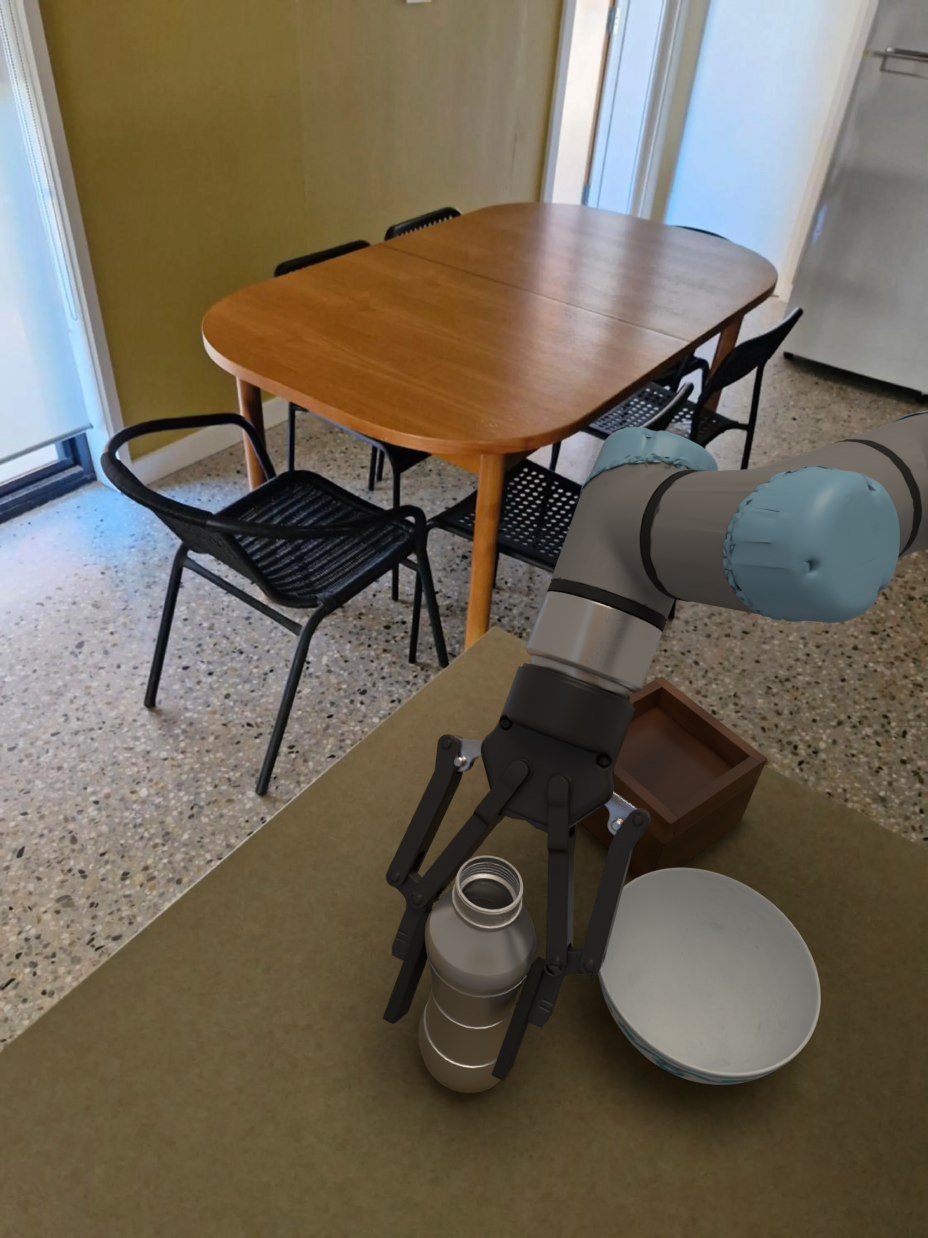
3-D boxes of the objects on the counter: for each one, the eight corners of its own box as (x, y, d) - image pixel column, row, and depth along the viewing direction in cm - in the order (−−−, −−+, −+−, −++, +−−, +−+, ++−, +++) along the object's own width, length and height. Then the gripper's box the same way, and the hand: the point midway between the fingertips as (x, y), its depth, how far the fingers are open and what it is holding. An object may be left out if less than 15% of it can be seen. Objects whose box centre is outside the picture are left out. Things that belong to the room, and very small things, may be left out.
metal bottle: (483, 1126, 57) (516, 961, 45) (397, 1067, 60) (404, 895, 47) (530, 1042, 62) (572, 871, 49) (448, 990, 64) (467, 815, 52)
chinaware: (593, 1126, 59) (614, 1074, 54) (569, 922, 70) (584, 864, 65) (814, 1128, 60) (854, 1077, 55) (754, 927, 71) (782, 869, 66)
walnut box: (740, 822, 79) (767, 758, 74) (648, 889, 73) (670, 824, 68) (643, 739, 86) (661, 675, 81) (552, 794, 80) (565, 729, 75)
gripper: (734, 737, 55) (608, 1098, 53) (454, 636, 61) (333, 960, 59) (738, 732, 48) (593, 1148, 46) (420, 619, 54) (282, 986, 52)
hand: (448, 1042), depth 53 cm, fingers closed on metal bottle, 6 cm apart
